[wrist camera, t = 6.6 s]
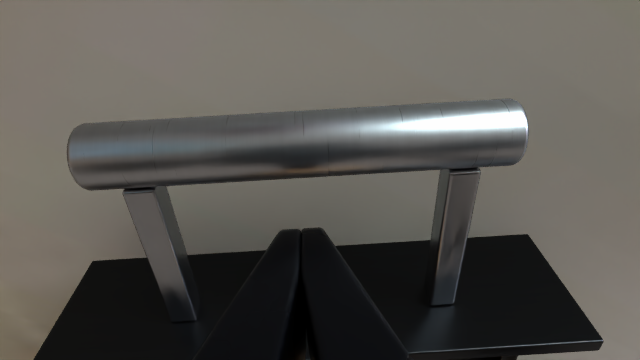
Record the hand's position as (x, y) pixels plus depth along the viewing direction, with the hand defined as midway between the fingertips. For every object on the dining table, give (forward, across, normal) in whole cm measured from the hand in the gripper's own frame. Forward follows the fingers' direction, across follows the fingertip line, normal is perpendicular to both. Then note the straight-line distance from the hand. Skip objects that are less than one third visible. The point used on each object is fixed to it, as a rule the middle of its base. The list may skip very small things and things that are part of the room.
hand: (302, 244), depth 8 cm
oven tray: (+4, 0, +7) cm, 8 cm away
